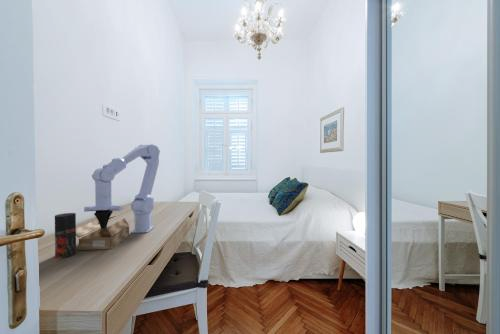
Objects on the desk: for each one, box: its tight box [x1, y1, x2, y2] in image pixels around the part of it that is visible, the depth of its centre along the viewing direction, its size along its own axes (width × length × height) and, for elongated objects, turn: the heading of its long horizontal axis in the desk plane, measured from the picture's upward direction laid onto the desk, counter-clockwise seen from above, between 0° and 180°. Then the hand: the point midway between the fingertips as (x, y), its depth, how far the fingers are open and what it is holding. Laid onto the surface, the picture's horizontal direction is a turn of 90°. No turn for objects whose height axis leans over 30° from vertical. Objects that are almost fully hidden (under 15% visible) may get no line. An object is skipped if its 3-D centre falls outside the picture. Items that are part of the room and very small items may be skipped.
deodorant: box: [54, 212, 77, 259], centre depth 81 cm, size 6×6×15 cm
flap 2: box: [106, 217, 130, 236], centre depth 94 cm, size 15×1×4 cm, turn 6°
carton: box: [78, 225, 130, 251], centre depth 94 cm, size 17×12×4 cm
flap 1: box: [76, 220, 101, 239], centre depth 93 cm, size 15×1×4 cm
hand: (103, 227), depth 94 cm, fingers closed
